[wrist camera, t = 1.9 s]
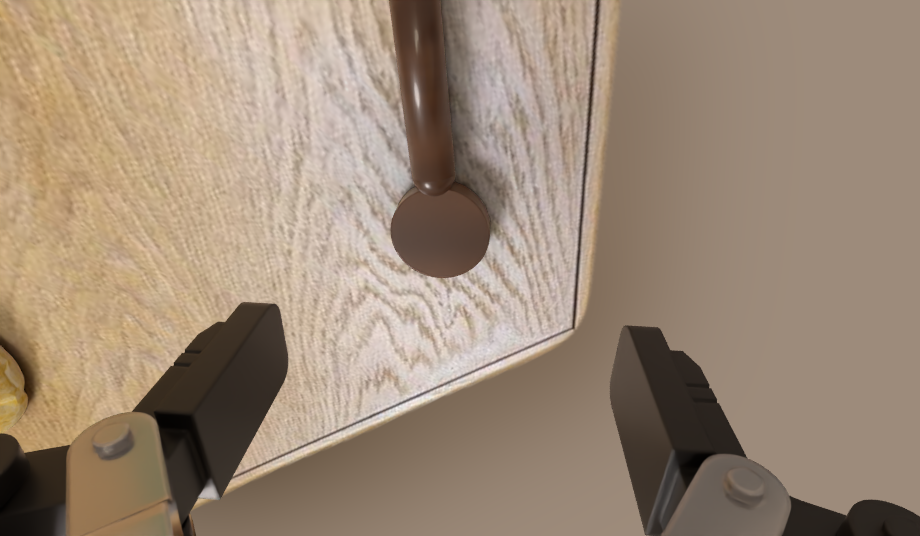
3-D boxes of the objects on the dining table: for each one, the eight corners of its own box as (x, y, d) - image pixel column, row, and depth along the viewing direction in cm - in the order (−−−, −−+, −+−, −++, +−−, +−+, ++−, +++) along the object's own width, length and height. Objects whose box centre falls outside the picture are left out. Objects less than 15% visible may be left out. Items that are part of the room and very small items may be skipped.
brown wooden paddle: (337, -147, 19) (320, -160, 17) (468, -163, 18) (464, -178, 17) (401, 268, 27) (395, 288, 25) (492, 265, 27) (491, 285, 25)
